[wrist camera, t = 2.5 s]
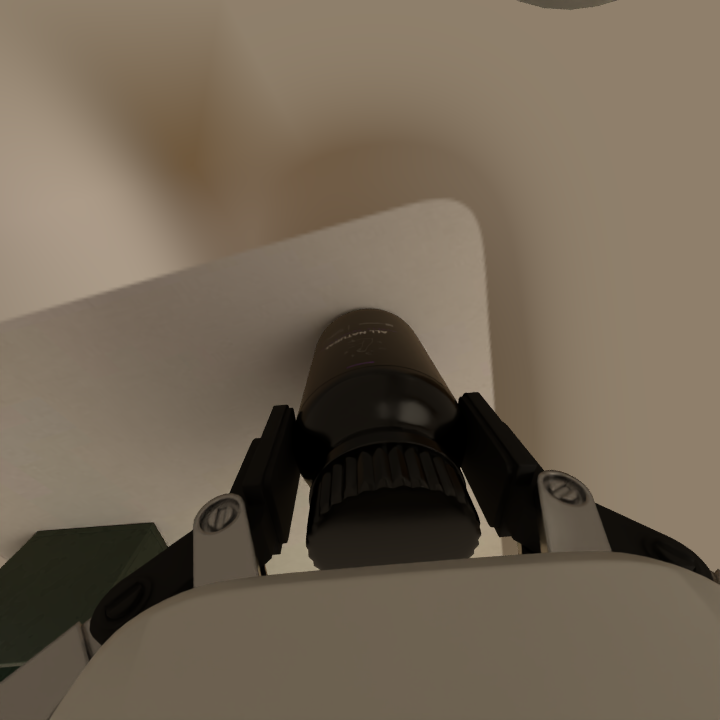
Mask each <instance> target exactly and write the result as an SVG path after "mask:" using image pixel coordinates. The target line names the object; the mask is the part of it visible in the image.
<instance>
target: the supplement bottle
mask: <svg viewBox="0 0 720 720" xmlns="http://www.w3.org/2000/svg"><path fill="white" fill-rule="evenodd" d="M466 447H467V428H466V423H465V419H464V416H463V414H462V412H461V409H460V407H459V405H458V403H457V401H456V400H455V398H454V396H453V395H452V393H451V391H450V390H449V388H448V386H447V385H446V383H445V381H444V380H443V378H442V377H441V375H440V373H439V372H438V370H437V368H436V367H435V365H434V363H433V362H432V360H431V359H430V357H429V355H428V354H427V352H426V350H425V349H424V347H423V345H422V344H421V342H420V341H419V339H418V337H417V336H416V334H415V333H414V331H413V330H412V329H411V327H410V326H409V325H408V324H407V323H406V322H405V321H403V320H402V319H401V318H399V317H398V316H396V315H394V314H392V313H390V312H387V311H384V310H379V309H359V310H355V311H351V312H348V313H346V314H344V315H342V316H340V317H338V318H337V319H336V320H334V321H333V322H332V323H331V324H330V325H329V326H328V327H327V328H326V329H325V330H324V332H323V333H322V335H321V337H320V339H319V341H318V343H317V346H316V349H315V353H314V356H313V360H312V364H311V367H310V371H309V375H308V378H307V382H306V386H305V389H304V393H303V397H302V400H301V404H300V408H299V411H298V415H297V419H296V423H295V428H294V434H293V452H294V457H295V461H296V464H297V466H298V469H299V471H300V473H301V475H302V477H303V478H304V480H305V481H306V483H307V484H308V485H309V487H310V494H309V504H310V509H309V517H308V524H307V535H306V547H307V549H308V555H309V558H311V559H312V560H313V561H314V566H315V567H317V568H319V569H320V570H331V569H342V568H354V567H366V566H378V565H391V564H403V563H415V562H428V561H441V560H454V559H467V558H469V557H471V556H472V555H473V554H474V549H475V548H476V547H477V546H478V545H479V541H478V539H479V537H480V536H481V530H480V520H479V517H478V514H477V512H476V510H475V507H474V505H473V503H472V500H471V498H470V496H469V494H468V492H467V489H466V483H465V479H464V476H463V474H462V472H461V470H460V467H461V465H462V463H463V460H464V457H465V452H466Z"/></svg>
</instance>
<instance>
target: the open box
mask: <svg viewBox="0 0 720 720" xmlns="http://www.w3.org/2000/svg"><path fill="white" fill-rule="evenodd" d="M167 548H168V547H167V545H166V544H165V542H164V540H163V539H162V537H161V535H160V533H159V532H158V530H157V528H156V527H155V525H154V523H145V524H132V525H118V526H105V527H91V528H78V529H64V530H51V531H38V532H37V533H36V534H35V535H34V536H33V537H32V538H31V539H30V540H29V541H28V542H27V543H26V544H25V545H24V546H23V547H22V548H21V549H20V550H19V551H18V552H16V553H15V554H14V555H13V556H12V557H11V558H10V559H9V560H8V561H7V562H6V563H5V565H3V566H2V567H1V568H0V682H1V681H3V680H4V679H5V678H6V677H8V676H9V675H10V674H12V673H13V672H14V671H15V670H17V669H18V668H19V667H21V666H22V665H23V664H25V663H26V662H27V661H28V660H30V659H31V658H32V657H34V656H35V655H36V654H37V653H39V652H40V651H41V650H43V649H44V648H45V647H46V646H48V645H49V644H50V643H52V642H53V641H54V640H55V639H57V638H58V637H59V636H61V635H62V634H63V633H64V632H66V631H67V630H68V629H70V628H71V627H72V626H74V625H75V624H76V623H77V622H80V623H81V624H83V623H85V622H86V621H87V620H89V619H90V618H91V617H92V615H93V613H94V610H95V609H96V607H97V605H98V604H99V602H100V601H101V599H102V598H103V597H104V596H105V595H106V594H107V593H108V592H109V591H110V589H112V588H113V587H114V586H115V585H116V584H118V583H119V582H120V581H121V580H123V579H124V578H126V577H127V576H128V575H130V574H131V573H133V572H134V571H135V570H137V569H138V568H140V567H141V566H143V565H144V564H145V563H147V562H148V561H150V560H151V559H152V558H154V557H155V556H157V555H158V554H160V553H161V552H162V551H164V550H165V549H167Z"/></svg>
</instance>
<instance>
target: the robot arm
mask: <svg viewBox="0 0 720 720" xmlns="http://www.w3.org/2000/svg"><path fill="white" fill-rule="evenodd" d="M458 405H459V407H460V409H461V412H462V414H463V416H464V419H465V423H466V428H467V447H466V452H465V457H464V460H463V463H462V465H461V468H462V470H463V472H464V475H465V477H466V479H467V481H468V483H469V485H470V487H471V489H472V491H473V493H474V495H475V497H476V499H477V502H478V504H479V506H480V508H481V510H482V512H483V514H484V516H485V518H486V520H487V522H488V524H489V526H490V527H494V528H495V530H496V532H497V534H498V536H499V537H507V536H512V538H513V539H514V540H515V541H517V548H518V555H508V556H494V557H481V558H467V559H454V560H441V561H428V562H415V563H403V564H391V565H378V566H366V567H354V568H342V569H331V570H319V571H307V572H295V573H285V574H276V575H268V574H267V570H266V565H265V564H266V563H267V562H268V561H269V560H270V559H271V558H272V555H276V554H281V549H282V544H283V543H287V541H288V538H289V532H290V527H291V521H292V516H293V511H294V505H295V500H296V494H297V489H298V483H299V478H300V471H299V469H298V466H297V464H296V461H295V457H294V452H293V434H294V428H295V423H296V419H295V414H294V409H293V408H289V406H288V405H277V406H274V407H273V409H272V411H271V414H270V416H269V419H268V421H267V424H266V426H265V429H264V431H263V434H262V436H261V438H255V439H254V440H253V441H252V443H251V445H250V447H249V450H248V452H247V454H246V456H245V459H244V461H243V463H242V465H241V468H240V470H239V472H238V475H237V477H236V479H235V481H234V484H233V486H232V488H231V491H230V493H229V494H223V495H220V496H217V497H215V498H214V499H212V500H210V501H209V502H208V503H206V504H205V505H204V506H203V507H202V508H201V509H200V510H199V512H198V513H197V515H196V517H195V519H194V524H193V530H192V531H191V532H189V533H188V534H186V535H185V536H184V537H182V538H181V539H179V540H178V541H176V542H175V543H174V544H172V545H171V546H169V547H168V548H167V549H165V550H164V551H162V552H161V553H160V554H158V555H157V556H155V557H154V558H152V559H151V560H150V561H148V562H147V563H145V564H144V565H143V566H141V567H140V568H138V569H137V570H135V571H134V572H133V573H131V574H130V575H128V576H127V577H126V578H124V579H123V580H121V581H120V582H119V583H118V584H116V585H115V586H114V587H113V588H112V589H110V591H109V592H108V593H107V594H106V595H105V596H104V597H103V598H102V599H101V601H100V602H99V604H98V605H97V607H96V609H95V610H94V613H93V615H92V617H91V618H90V619H89V620H87V621H86V622H85V623H83V624H81V623H80V622H77V623H76V624H75V625H74V626H72V627H71V628H70V629H68V630H67V631H66V632H64V633H63V634H62V635H61V636H59V637H58V638H57V639H55V640H54V641H53V642H52V643H50V644H49V645H48V646H46V647H45V648H44V649H43V650H41V651H40V652H39V653H37V654H36V655H35V656H34V657H32V658H31V659H30V660H28V661H27V662H26V663H25V664H23V665H22V666H21V667H19V668H18V669H17V670H15V671H14V672H13V673H12V674H10V675H9V676H8V677H6V678H5V679H4V680H3V681H1V682H0V720H720V570H719V569H717V570H716V572H715V573H714V572H712V571H710V570H709V568H708V567H707V566H706V564H705V563H704V562H703V561H702V560H701V559H700V558H699V557H698V556H697V555H696V554H695V553H694V552H693V551H691V550H690V549H688V548H687V547H686V546H684V545H683V544H681V543H680V542H678V541H676V540H674V539H672V538H670V537H668V536H666V535H664V534H662V533H660V532H657V531H655V530H653V529H651V528H649V527H646V526H644V525H642V524H640V523H638V522H636V521H633V520H631V519H629V518H627V517H625V516H623V515H621V514H618V513H616V512H614V511H612V510H610V509H607V508H605V507H603V506H601V505H599V504H597V503H595V502H594V499H593V496H592V494H591V493H590V491H589V489H588V488H587V487H586V486H585V485H584V484H583V483H582V482H581V481H579V480H578V479H576V478H574V477H573V476H571V475H569V474H567V473H564V472H561V471H555V470H546V471H544V470H543V469H542V467H541V466H540V465H539V464H538V463H537V461H536V460H535V459H534V458H533V456H532V455H531V454H530V453H529V452H528V450H527V449H526V448H525V447H524V445H523V444H522V443H521V442H520V440H519V439H518V438H517V437H516V436H515V434H514V433H513V432H512V431H511V429H510V428H509V427H508V426H507V425H506V424H505V423H504V422H502V421H501V420H500V418H499V417H498V416H497V414H496V413H495V412H494V411H493V409H492V408H491V407H490V406H489V405H488V403H487V402H486V401H485V400H484V398H483V397H482V396H481V395H480V394H479V393H478V392H473V393H464V394H463V397H459V401H458Z"/></svg>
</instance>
